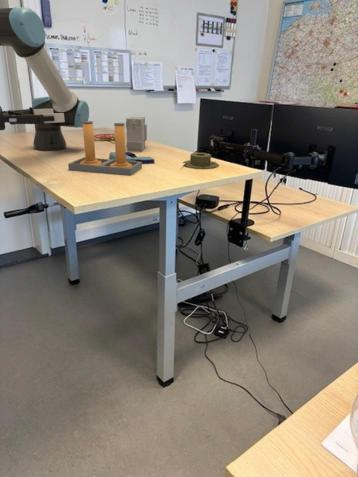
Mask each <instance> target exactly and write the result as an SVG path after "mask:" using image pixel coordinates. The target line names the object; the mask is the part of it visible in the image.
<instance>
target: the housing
mask: <svg viewBox="0 0 358 477" xmlns="http://www.w3.org/2000/svg"><path fill="white" fill-rule="evenodd" d="M95 159H97V160H98V161H101V162H102V163H101V164H99V165H86V164H80V162H81V161H84V160H85V156H83V157H80V158H79V159H76V160H74V161H72V162H69V163H67V166H68V171H76V172H87V173H95V174H96V173H97V174H109V175H118V176H133V175H135V173H137V172H138V171H140V170H142V169H143V164H142V162H137V161H126V162H128V163H130V164H132V167H130V168H121V167H110V164H112V163H114V162H116V160H112V159H109V158H100V157H99V158H97V157H95Z"/></svg>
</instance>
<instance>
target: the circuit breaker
mask: <svg viewBox="0 0 358 477" xmlns="http://www.w3.org/2000/svg"><path fill="white" fill-rule="evenodd" d="M125 120H126V121H125V128H126V129H125V133H126V140H125V147H126V152H131V153H133V152H135V153H136V152H138V153H142V152H143V151H145V150H146V142H147V139H148V138H147V136H148V133H147V128H148V126H147V124H146V117H143V116H142V117H141V116H128V117H126V118H125Z"/></svg>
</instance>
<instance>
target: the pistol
mask: <svg viewBox="0 0 358 477" xmlns="http://www.w3.org/2000/svg"><path fill="white" fill-rule="evenodd" d="M108 159H112V160H116V152H115V151H111V152H109V156H108ZM126 161H137V162H142V165H149V164H151V165H152V164H155V159H154V158H153V157H152V156H137V155H136V154H135V153H133V152H132V151H126Z"/></svg>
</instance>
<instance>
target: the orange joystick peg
mask: <svg viewBox="0 0 358 477" xmlns="http://www.w3.org/2000/svg"><path fill="white" fill-rule="evenodd" d="M82 123H83V127H82V134H83V135H82V136H83V145H84V157H85V160H84V161H81V162H80V164H86V165H99V164H101V163H102V162H101V161H98V160H97V159H95V158H96V150H95V146H96V145H95V141H94V140H95V138H94V135H95V134H94V122H93V120H92V121H91V120H88V121H82Z"/></svg>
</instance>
